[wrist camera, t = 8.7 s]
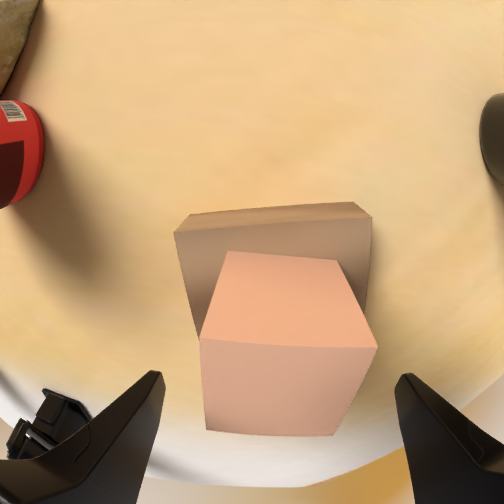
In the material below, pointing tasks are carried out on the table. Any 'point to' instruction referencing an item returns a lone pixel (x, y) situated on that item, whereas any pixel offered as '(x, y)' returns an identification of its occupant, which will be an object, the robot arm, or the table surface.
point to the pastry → (13, 33)
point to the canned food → (19, 150)
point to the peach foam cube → (282, 346)
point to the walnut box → (273, 244)
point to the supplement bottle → (493, 135)
